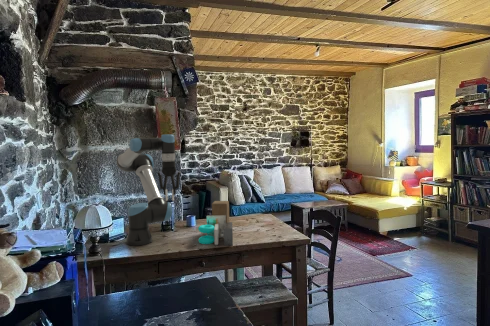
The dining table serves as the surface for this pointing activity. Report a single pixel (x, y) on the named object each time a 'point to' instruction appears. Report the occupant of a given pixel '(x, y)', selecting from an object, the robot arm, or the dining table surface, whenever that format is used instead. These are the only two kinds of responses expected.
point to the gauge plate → (216, 233)
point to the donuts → (207, 238)
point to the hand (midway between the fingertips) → (169, 200)
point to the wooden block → (221, 208)
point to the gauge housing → (222, 228)
